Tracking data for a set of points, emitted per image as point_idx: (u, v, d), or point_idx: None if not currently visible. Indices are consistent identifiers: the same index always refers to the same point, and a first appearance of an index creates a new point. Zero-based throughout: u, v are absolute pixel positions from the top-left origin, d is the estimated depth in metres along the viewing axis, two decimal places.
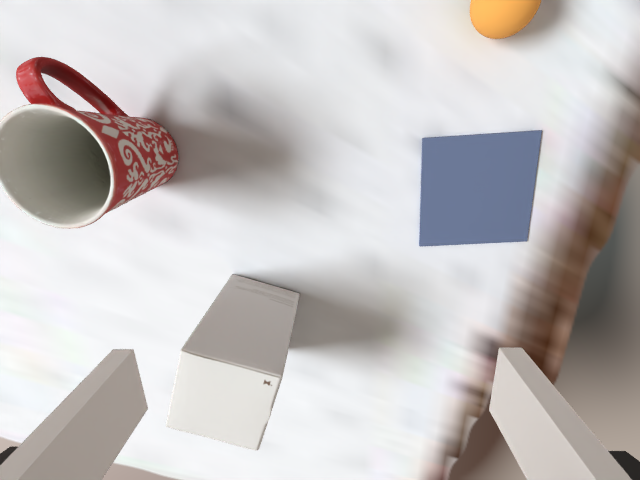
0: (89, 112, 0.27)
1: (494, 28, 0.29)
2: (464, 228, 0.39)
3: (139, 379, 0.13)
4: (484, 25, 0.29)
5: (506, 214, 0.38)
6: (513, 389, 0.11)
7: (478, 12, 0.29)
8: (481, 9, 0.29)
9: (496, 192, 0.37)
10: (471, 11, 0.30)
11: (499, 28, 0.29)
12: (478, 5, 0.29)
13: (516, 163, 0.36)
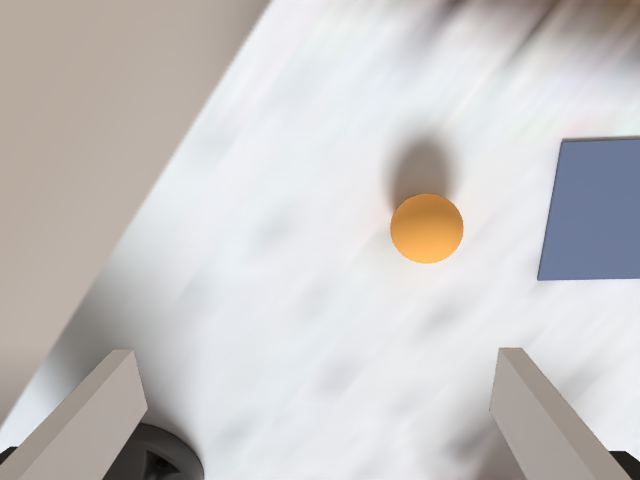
0: None
1: (457, 246, 0.26)
2: None
3: (139, 379, 0.13)
4: None
5: None
6: (513, 389, 0.11)
7: None
8: None
9: (632, 189, 0.28)
10: None
11: (459, 243, 0.26)
12: None
13: (599, 168, 0.28)
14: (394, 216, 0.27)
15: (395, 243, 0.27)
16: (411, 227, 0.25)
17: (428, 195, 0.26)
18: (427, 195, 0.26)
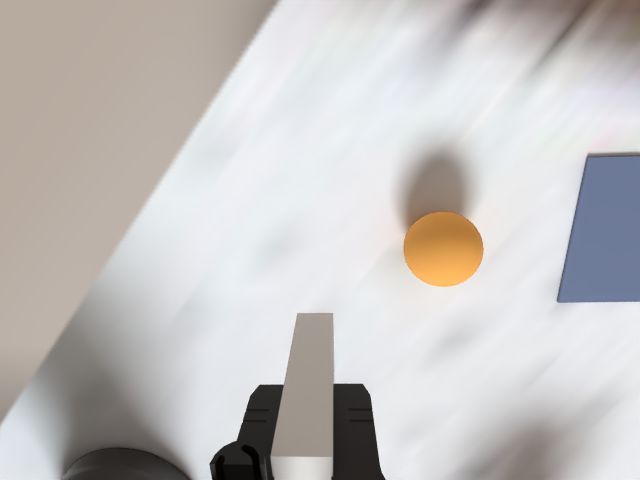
0: None
1: None
2: None
3: None
4: None
5: None
6: None
7: None
8: (453, 285, 0.25)
9: None
10: None
11: None
12: None
13: (626, 185, 0.26)
14: (408, 236, 0.25)
15: (409, 265, 0.25)
16: (428, 249, 0.23)
17: (446, 214, 0.24)
18: (444, 214, 0.24)
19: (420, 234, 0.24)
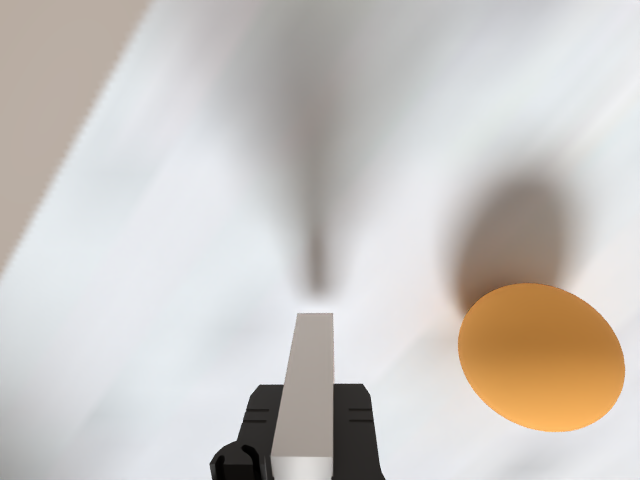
0: None
1: None
2: None
3: None
4: None
5: None
6: None
7: None
8: None
9: None
10: None
11: None
12: None
13: None
14: (472, 331, 0.13)
15: (473, 384, 0.13)
16: (522, 372, 0.11)
17: (549, 295, 0.12)
18: (546, 295, 0.12)
19: (501, 337, 0.12)
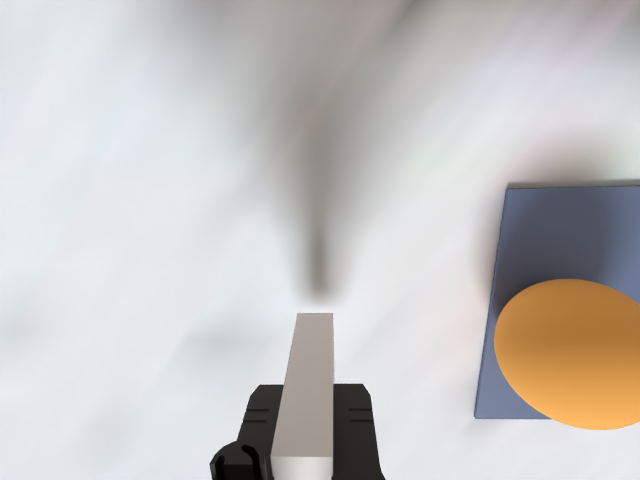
0: None
1: (561, 414, 0.12)
2: None
3: None
4: (563, 422, 0.12)
5: None
6: None
7: None
8: None
9: None
10: None
11: (558, 407, 0.12)
12: None
13: (578, 238, 0.15)
14: None
15: None
16: None
17: (578, 286, 0.13)
18: (577, 285, 0.13)
19: None
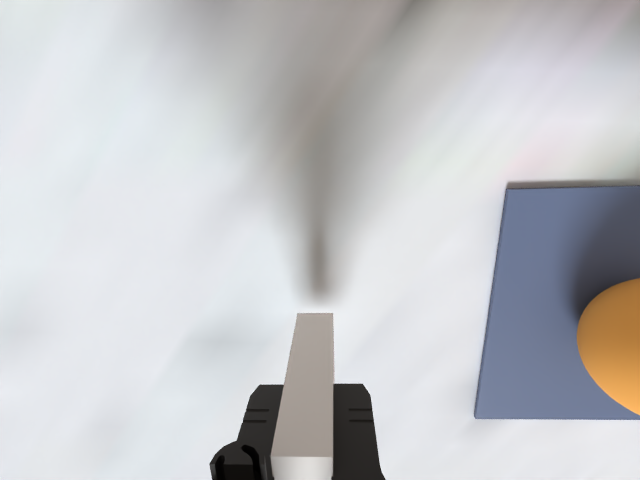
0: None
1: None
2: None
3: None
4: None
5: None
6: None
7: None
8: None
9: None
10: None
11: None
12: None
13: (578, 238, 0.15)
14: (592, 310, 0.14)
15: (585, 361, 0.14)
16: (634, 350, 0.12)
17: None
18: None
19: (619, 317, 0.13)
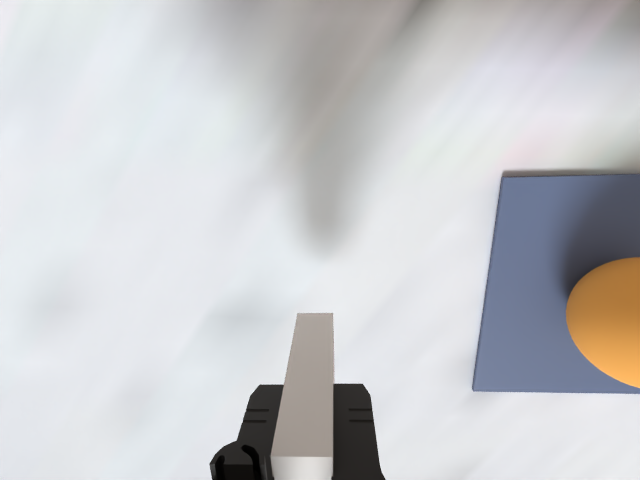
0: None
1: None
2: None
3: None
4: None
5: None
6: None
7: None
8: None
9: (626, 257, 0.16)
10: None
11: None
12: None
13: (568, 223, 0.16)
14: (579, 288, 0.15)
15: (572, 334, 0.15)
16: (614, 320, 0.13)
17: None
18: None
19: (602, 291, 0.14)
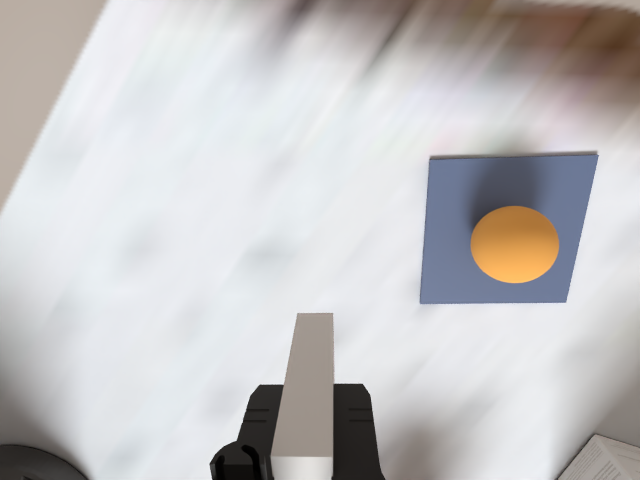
0: None
1: (546, 270, 0.23)
2: None
3: None
4: None
5: (545, 191, 0.26)
6: None
7: None
8: (518, 282, 0.24)
9: None
10: None
11: (549, 266, 0.23)
12: None
13: (471, 187, 0.26)
14: (476, 226, 0.25)
15: (472, 254, 0.25)
16: (487, 239, 0.23)
17: (518, 208, 0.23)
18: (516, 208, 0.24)
19: (484, 225, 0.24)
